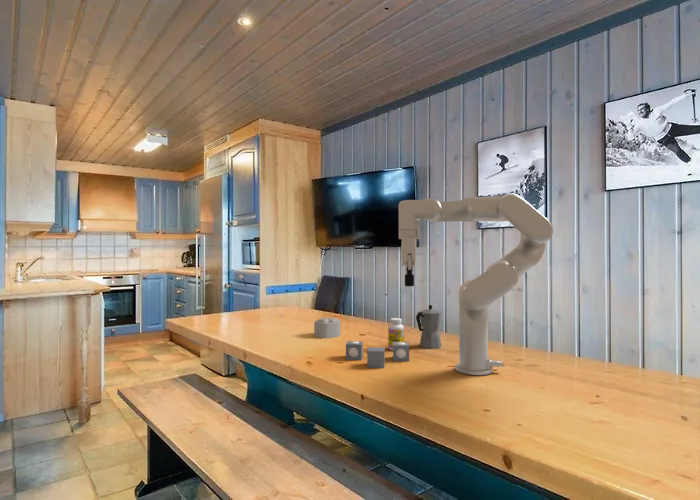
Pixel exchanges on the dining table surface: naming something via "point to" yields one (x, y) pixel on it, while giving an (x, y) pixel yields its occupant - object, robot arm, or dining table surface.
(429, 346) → the coffeepot
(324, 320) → the lumpy-topped squat cylinder
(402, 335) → the supplement bottle
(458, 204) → the robot arm
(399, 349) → the badge block
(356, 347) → the badge block
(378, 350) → the plain block
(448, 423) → the dining table surface
